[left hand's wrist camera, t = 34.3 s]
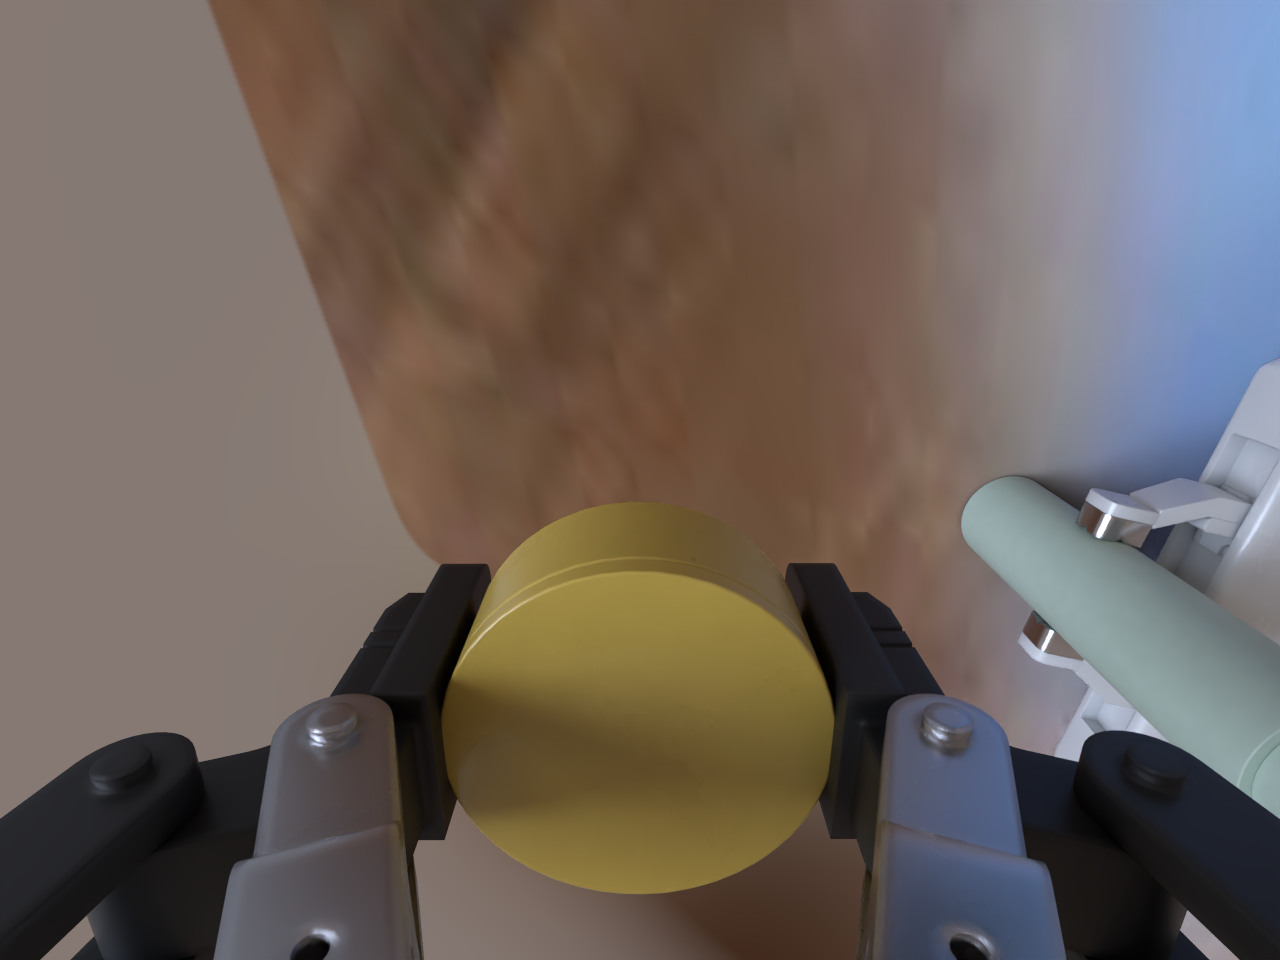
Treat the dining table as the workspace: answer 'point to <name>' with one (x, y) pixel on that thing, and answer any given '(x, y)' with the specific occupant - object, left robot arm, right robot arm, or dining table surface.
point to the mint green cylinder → (1140, 631)
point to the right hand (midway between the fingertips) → (1059, 576)
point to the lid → (638, 703)
